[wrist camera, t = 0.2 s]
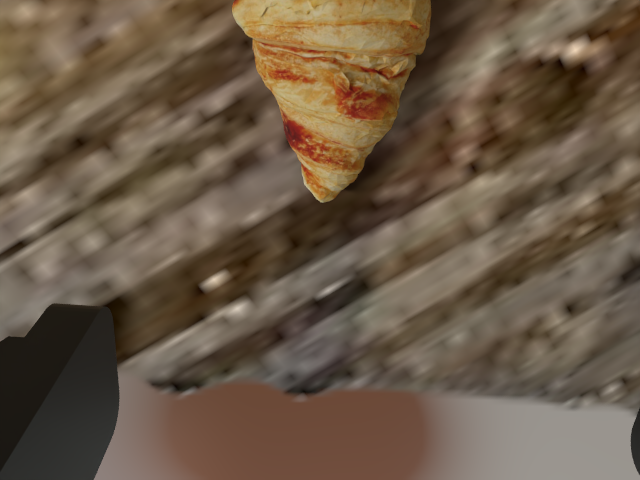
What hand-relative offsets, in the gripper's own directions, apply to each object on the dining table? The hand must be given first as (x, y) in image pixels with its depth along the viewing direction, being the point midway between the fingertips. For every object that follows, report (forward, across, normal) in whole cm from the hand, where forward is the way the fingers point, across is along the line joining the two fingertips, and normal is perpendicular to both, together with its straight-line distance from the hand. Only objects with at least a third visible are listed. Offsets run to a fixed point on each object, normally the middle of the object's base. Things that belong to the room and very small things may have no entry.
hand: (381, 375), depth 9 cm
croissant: (+29, +1, -2) cm, 29 cm away
